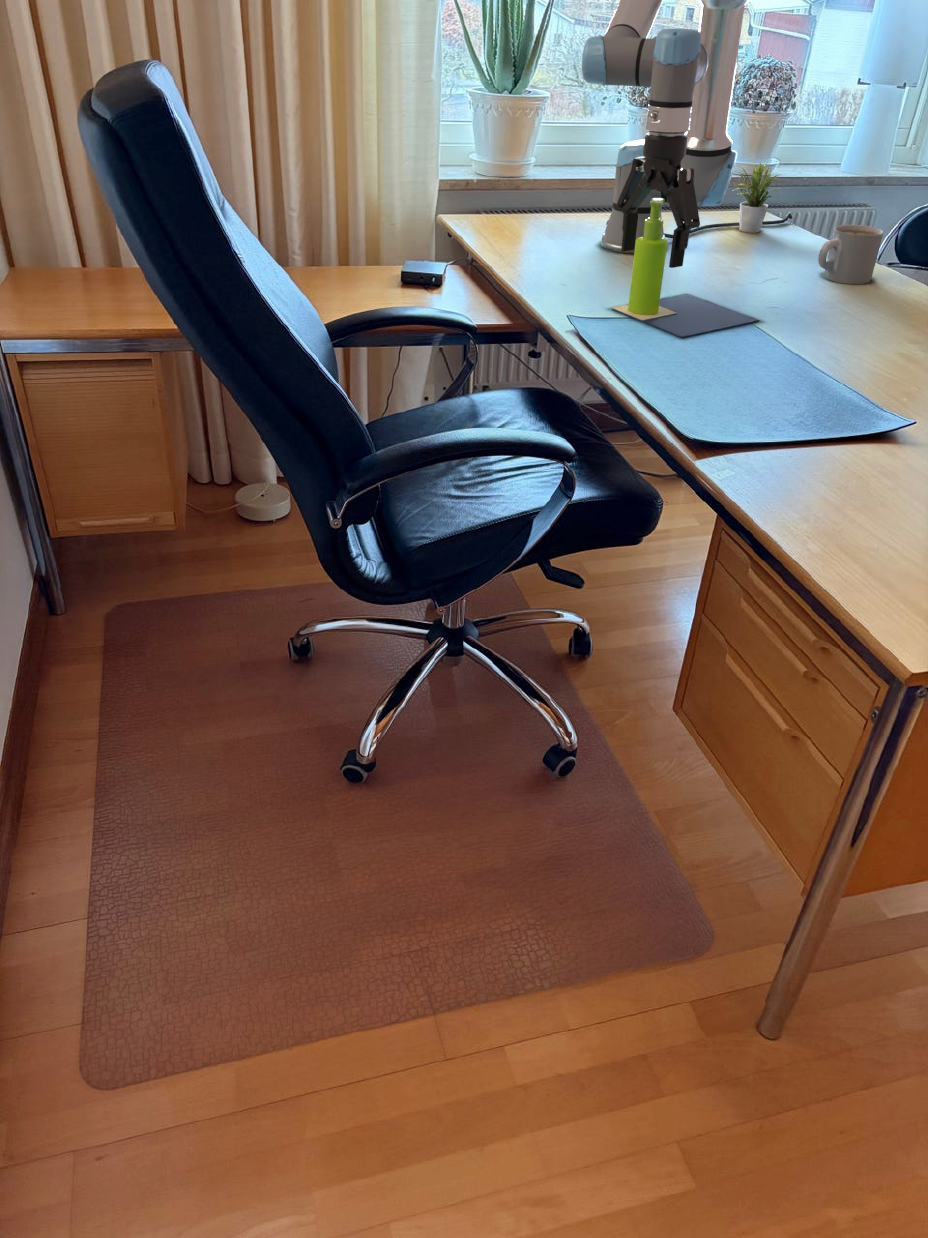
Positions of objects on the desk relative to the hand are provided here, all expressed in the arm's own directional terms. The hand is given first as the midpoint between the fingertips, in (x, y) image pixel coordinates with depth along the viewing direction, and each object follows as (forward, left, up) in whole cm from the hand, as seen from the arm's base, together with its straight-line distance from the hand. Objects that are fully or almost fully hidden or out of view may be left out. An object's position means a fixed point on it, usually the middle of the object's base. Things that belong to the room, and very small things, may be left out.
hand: (651, 258), depth 174 cm
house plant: (-71, -41, -10) cm, 83 cm away
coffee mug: (-54, +3, -10) cm, 55 cm away
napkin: (-5, +6, -10) cm, 13 cm away
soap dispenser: (0, 0, -10) cm, 10 cm away
